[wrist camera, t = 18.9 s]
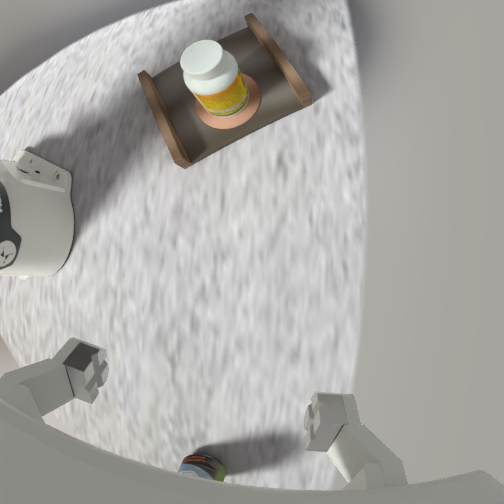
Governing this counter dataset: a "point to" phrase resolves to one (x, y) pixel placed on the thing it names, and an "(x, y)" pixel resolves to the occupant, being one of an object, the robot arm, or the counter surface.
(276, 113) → the walled bay
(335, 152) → the counter surface
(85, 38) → the counter surface
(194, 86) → the supplement bottle
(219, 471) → the beverage can
